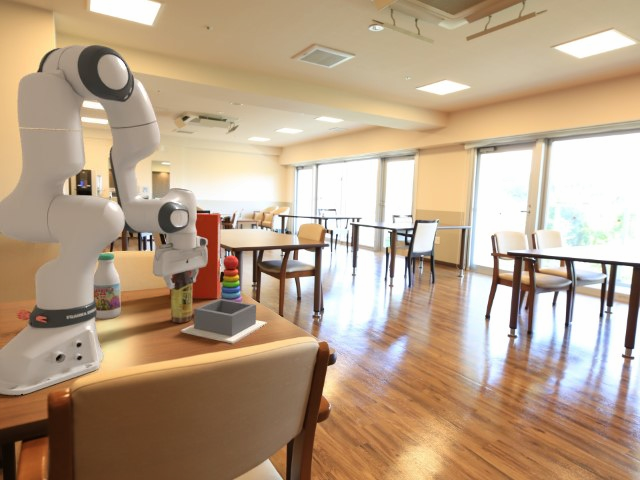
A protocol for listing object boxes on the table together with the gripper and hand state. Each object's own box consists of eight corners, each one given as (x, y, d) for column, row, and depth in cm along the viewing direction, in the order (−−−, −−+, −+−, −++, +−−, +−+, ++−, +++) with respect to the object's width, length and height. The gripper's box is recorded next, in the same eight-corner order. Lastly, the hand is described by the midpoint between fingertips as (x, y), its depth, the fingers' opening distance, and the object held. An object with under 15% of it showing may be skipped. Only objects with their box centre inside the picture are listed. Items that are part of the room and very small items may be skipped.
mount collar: (232, 343, 105) (233, 320, 104) (181, 332, 112) (181, 310, 111) (266, 324, 121) (267, 303, 121) (219, 315, 128) (219, 295, 127)
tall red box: (175, 293, 152) (174, 212, 148) (219, 293, 154) (220, 213, 151) (169, 298, 144) (169, 213, 140) (216, 299, 146) (217, 215, 143)
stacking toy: (219, 304, 140) (219, 253, 138) (241, 303, 142) (242, 253, 140) (219, 311, 132) (220, 257, 130) (243, 310, 135) (244, 257, 132)
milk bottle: (94, 313, 125) (92, 252, 122) (120, 311, 128) (119, 251, 126) (92, 320, 118) (90, 256, 115) (121, 318, 121) (119, 255, 119)
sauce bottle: (185, 324, 118) (185, 260, 115) (166, 322, 119) (166, 259, 117) (196, 318, 124) (196, 257, 122) (178, 316, 125) (178, 256, 123)
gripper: (163, 246, 108) (164, 294, 110) (211, 239, 127) (210, 280, 128) (147, 244, 110) (147, 291, 112) (195, 237, 129) (195, 278, 131)
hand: (181, 285), depth 120 cm, fingers open, 8 cm apart
